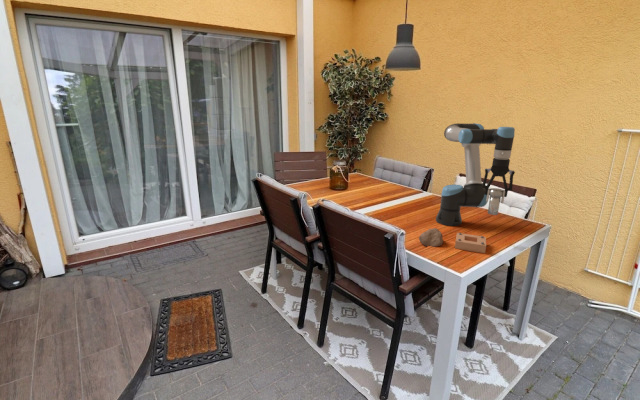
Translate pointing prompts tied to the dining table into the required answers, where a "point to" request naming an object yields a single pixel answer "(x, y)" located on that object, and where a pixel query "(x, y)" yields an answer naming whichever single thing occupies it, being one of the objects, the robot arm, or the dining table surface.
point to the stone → (431, 238)
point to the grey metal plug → (494, 200)
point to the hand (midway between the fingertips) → (494, 201)
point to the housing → (470, 242)
